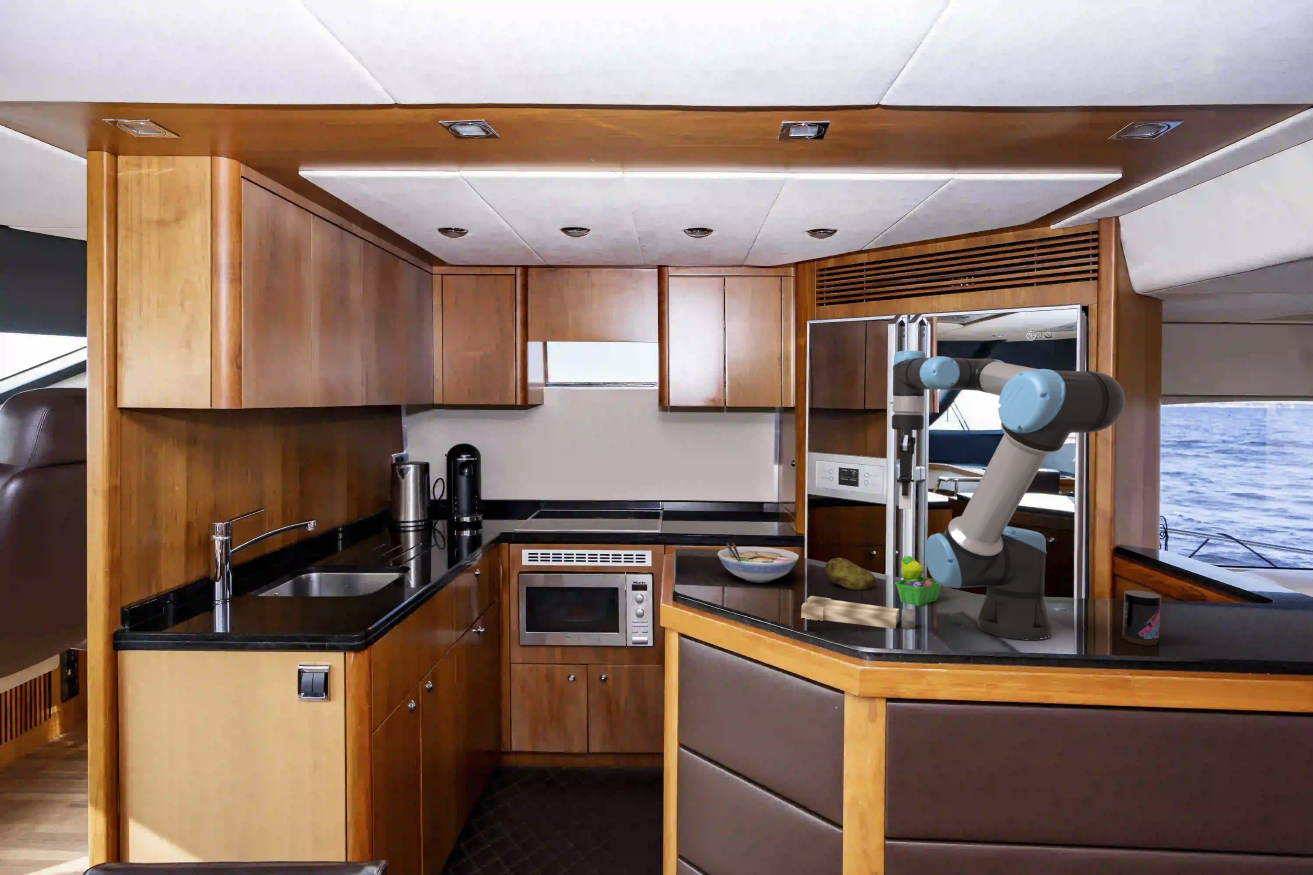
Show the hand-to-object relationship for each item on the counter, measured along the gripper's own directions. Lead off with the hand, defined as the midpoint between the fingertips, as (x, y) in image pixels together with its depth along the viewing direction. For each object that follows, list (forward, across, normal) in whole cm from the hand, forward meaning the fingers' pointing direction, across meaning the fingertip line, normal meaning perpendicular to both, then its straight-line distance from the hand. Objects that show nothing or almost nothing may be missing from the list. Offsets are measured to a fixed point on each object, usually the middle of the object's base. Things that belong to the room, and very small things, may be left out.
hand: (904, 508), depth 195 cm
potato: (+25, -12, -15) cm, 31 cm away
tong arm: (+24, +17, -10) cm, 31 cm away
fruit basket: (+25, -6, +3) cm, 26 cm away
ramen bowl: (+25, -11, -40) cm, 48 cm away
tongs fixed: (+24, +21, -8) cm, 33 cm away
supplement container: (+25, +9, +50) cm, 57 cm away
